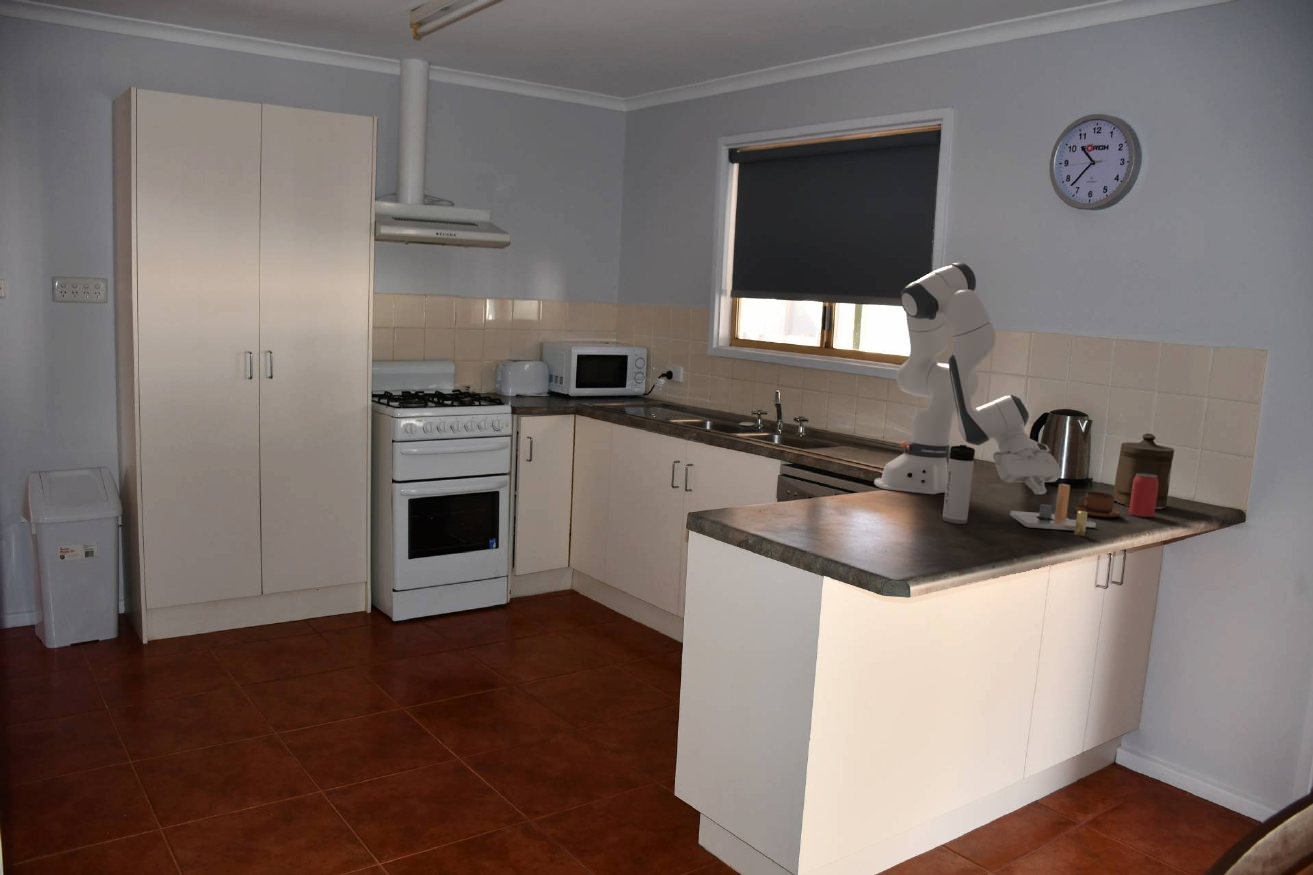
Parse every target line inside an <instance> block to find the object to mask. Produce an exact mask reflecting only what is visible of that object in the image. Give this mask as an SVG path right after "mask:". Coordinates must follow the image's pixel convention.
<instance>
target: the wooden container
mask: <svg viewBox="0 0 1313 875" xmlns="http://www.w3.org/2000/svg"><path fill="white" fill-rule="evenodd" d="M1142 439H1143V440H1141V441H1139V442H1130V441H1129V442H1122V443H1121V444H1120V451H1119V456H1118V461H1117V462H1118V463H1117V469H1116V473H1115V480H1114V489H1113V494H1112V495H1113V496H1114V500H1115V501H1117V502H1120V503H1122V504H1125V505H1130V500H1131V493H1132V486H1133V480H1134V478H1135V476H1136V474H1137V473H1146V474H1152V475H1156V476H1158V477H1157V479H1158V483H1159V485H1158V492H1157V499H1156V506H1155V508H1156V507H1165V506H1166V507H1167V502H1168V495H1169V490H1170V483H1171V482H1170V480H1171V472H1172V467H1173V466H1172V465H1173V460H1174V454H1175V449H1174V448H1172V447H1169V446H1165V445H1158V444H1157V443H1156V442H1155V441H1154V440H1156V436H1155V435H1154V434H1153V433H1144V434H1143V435H1142Z"/></svg>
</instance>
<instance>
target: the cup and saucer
mask: <svg viewBox="0 0 1313 875" xmlns="http://www.w3.org/2000/svg"><path fill="white" fill-rule="evenodd" d="M1083 500H1084V504H1082V501H1083ZM1075 509H1076V510H1077V511H1084V512H1087V513H1088V514H1087V516H1090V517H1094V518H1101V517H1102V519H1104V518H1106V519H1109V518H1110V519H1111V518H1112V519H1113V518H1117V517H1119V516H1121V514H1122V511H1121V510H1119V509H1116V508H1114V496H1113V494H1110V493H1105V492H1100V491H1099V492H1098V491H1087V492H1085V496H1081V497H1080V498H1079V499H1078V504H1076V505H1075Z"/></svg>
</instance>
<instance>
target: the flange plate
mask: <svg viewBox="0 0 1313 875" xmlns="http://www.w3.org/2000/svg"><path fill="white" fill-rule="evenodd" d="M1057 490H1058V491H1057V496H1056V498H1057V499H1056V506H1055V512H1054V513H1052V514H1051V520H1040V519H1039V512H1031V511H1030V512H1028V511H1017V510H1010V511H1009V512H1010V513H1009V516H1010V517H1011V518H1012V519H1014V520H1016V521H1017V522H1019V523H1020V524H1021V525H1023V526H1024V527H1026V528H1033V529H1034V528H1036V529H1048V530H1049V529H1050V530H1063V531H1064V530H1065V531H1074V532H1075V527H1076V519H1069V517H1067V516H1068V515H1067V514H1068V506H1069V498H1070V490H1071V485H1070V484H1067V483H1060V484H1058V489H1057ZM1096 524H1097V523H1096V522H1094V521H1093V520H1087V521H1086V528H1096V527H1097V526H1096Z"/></svg>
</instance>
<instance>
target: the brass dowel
mask: <svg viewBox="0 0 1313 875" xmlns="http://www.w3.org/2000/svg"><path fill="white" fill-rule="evenodd" d="M1087 514H1088V513H1087V512H1084V511H1078V510H1077V512H1076V519H1075V520H1076V527H1075V531H1074V535H1076V536H1080V537H1085V534H1086V528H1087V527H1086V521H1088V515H1087Z"/></svg>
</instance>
